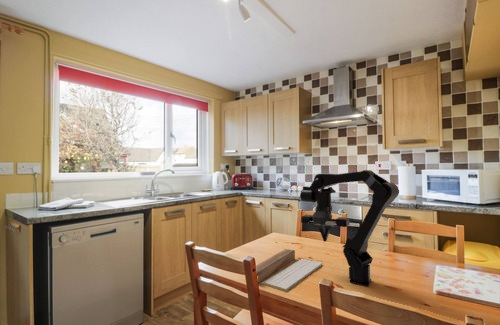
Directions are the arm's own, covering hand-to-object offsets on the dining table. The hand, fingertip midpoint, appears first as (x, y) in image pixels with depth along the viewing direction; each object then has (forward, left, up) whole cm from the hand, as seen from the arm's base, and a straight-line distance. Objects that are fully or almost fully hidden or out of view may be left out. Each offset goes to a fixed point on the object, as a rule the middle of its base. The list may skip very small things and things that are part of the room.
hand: (325, 241), depth 107 cm
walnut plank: (+19, +10, -12) cm, 25 cm away
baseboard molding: (+10, +10, -13) cm, 19 cm away
